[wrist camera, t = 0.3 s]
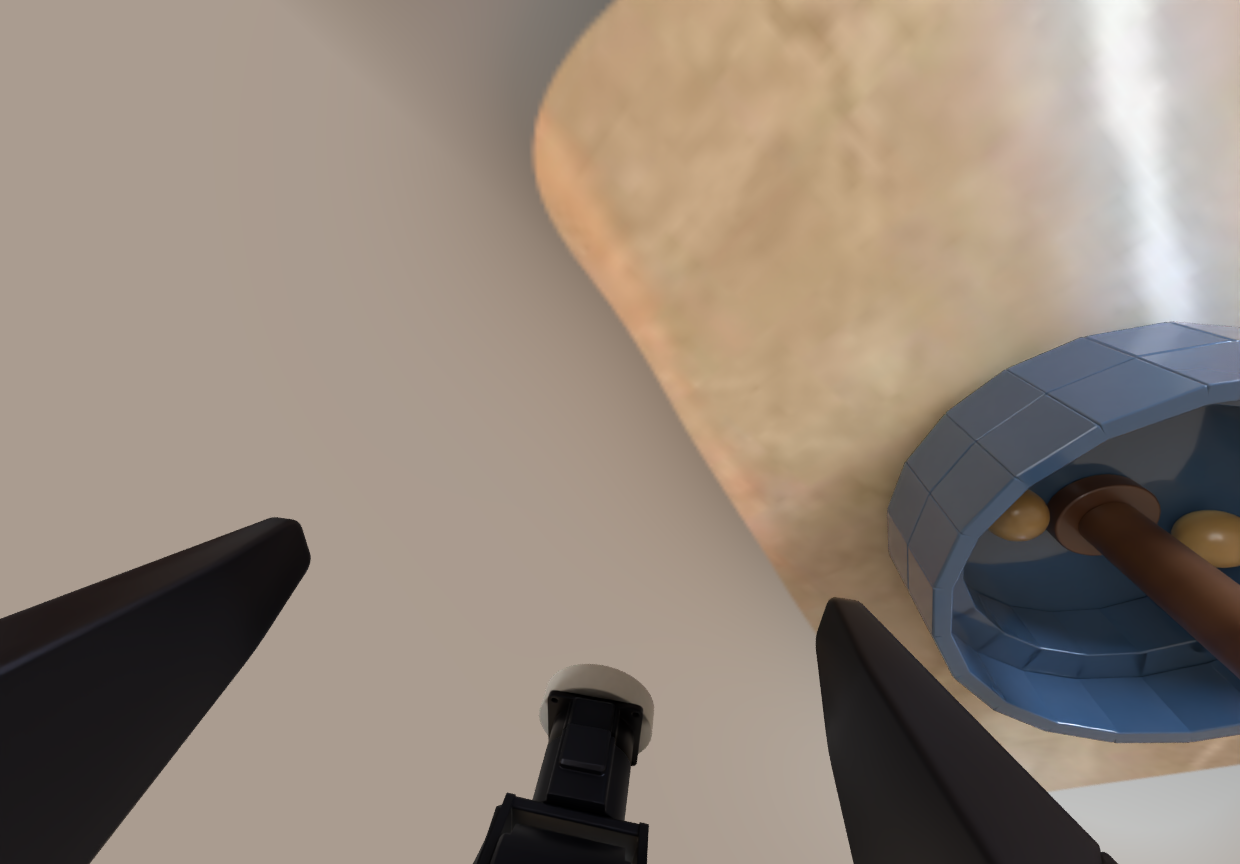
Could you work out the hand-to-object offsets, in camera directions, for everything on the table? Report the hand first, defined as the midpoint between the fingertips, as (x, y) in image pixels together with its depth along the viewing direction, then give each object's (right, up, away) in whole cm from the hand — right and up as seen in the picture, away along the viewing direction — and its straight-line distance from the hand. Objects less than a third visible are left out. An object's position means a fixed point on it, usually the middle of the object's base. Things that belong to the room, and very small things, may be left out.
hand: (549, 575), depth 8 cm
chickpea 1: (+16, -1, +10) cm, 18 cm away
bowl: (+19, 0, +11) cm, 22 cm away
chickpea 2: (+22, -1, +9) cm, 24 cm away
